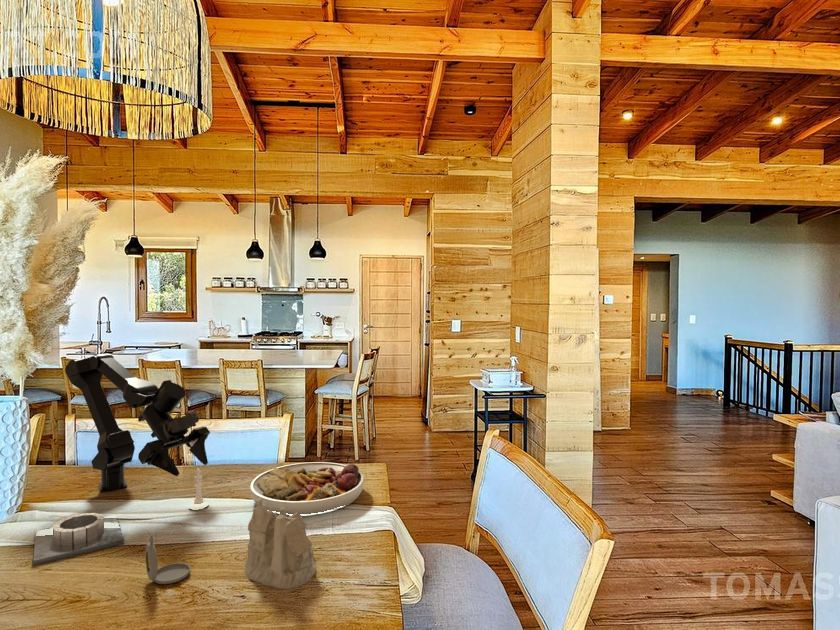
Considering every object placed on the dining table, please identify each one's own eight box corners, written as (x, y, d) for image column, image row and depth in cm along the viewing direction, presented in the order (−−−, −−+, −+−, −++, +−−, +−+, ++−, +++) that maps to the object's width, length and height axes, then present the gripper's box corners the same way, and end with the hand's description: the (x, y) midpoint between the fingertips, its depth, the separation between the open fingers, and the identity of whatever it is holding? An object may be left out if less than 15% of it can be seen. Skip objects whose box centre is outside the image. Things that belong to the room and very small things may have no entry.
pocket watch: (197, 571, 103) (197, 521, 102) (164, 594, 95) (163, 541, 95) (165, 563, 106) (164, 515, 105) (130, 585, 98) (129, 534, 97)
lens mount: (35, 535, 118) (35, 517, 117) (117, 517, 127) (116, 501, 127) (33, 565, 104) (32, 546, 104) (124, 543, 114) (123, 526, 114)
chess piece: (201, 511, 131) (200, 472, 131) (184, 509, 132) (183, 471, 132) (212, 503, 136) (212, 466, 135) (196, 501, 137) (195, 464, 136)
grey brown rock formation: (283, 595, 95) (285, 512, 95) (228, 571, 104) (230, 495, 104) (342, 564, 107) (343, 491, 108) (289, 545, 117) (290, 478, 117)
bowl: (257, 531, 121) (257, 498, 121) (245, 486, 148) (244, 459, 148) (378, 510, 133) (378, 479, 133) (346, 472, 160) (346, 447, 160)
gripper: (145, 411, 127) (178, 461, 123) (204, 397, 144) (235, 440, 140) (124, 439, 131) (155, 488, 127) (184, 422, 148) (214, 465, 144)
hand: (192, 469), depth 134 cm, fingers open, 9 cm apart
